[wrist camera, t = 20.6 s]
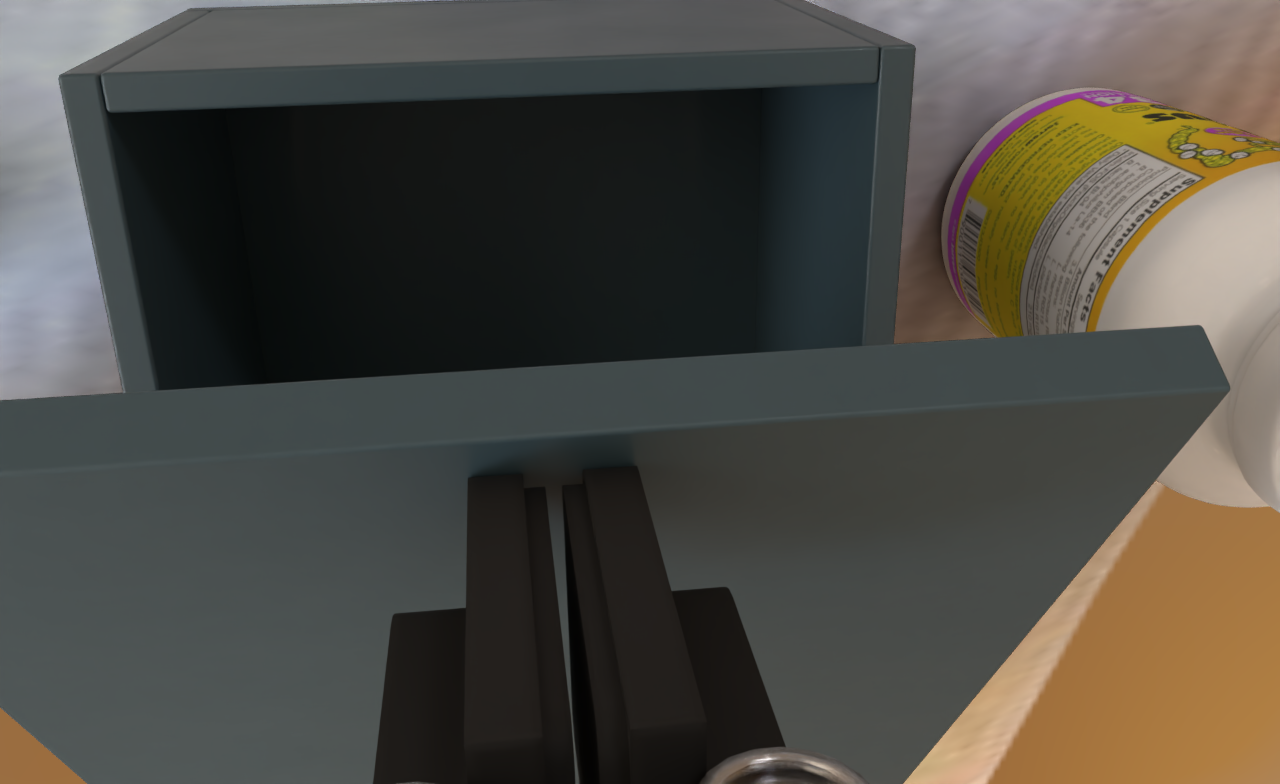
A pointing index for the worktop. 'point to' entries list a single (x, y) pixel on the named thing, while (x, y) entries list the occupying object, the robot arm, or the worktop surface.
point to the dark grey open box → (489, 186)
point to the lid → (551, 457)
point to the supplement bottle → (1135, 254)
